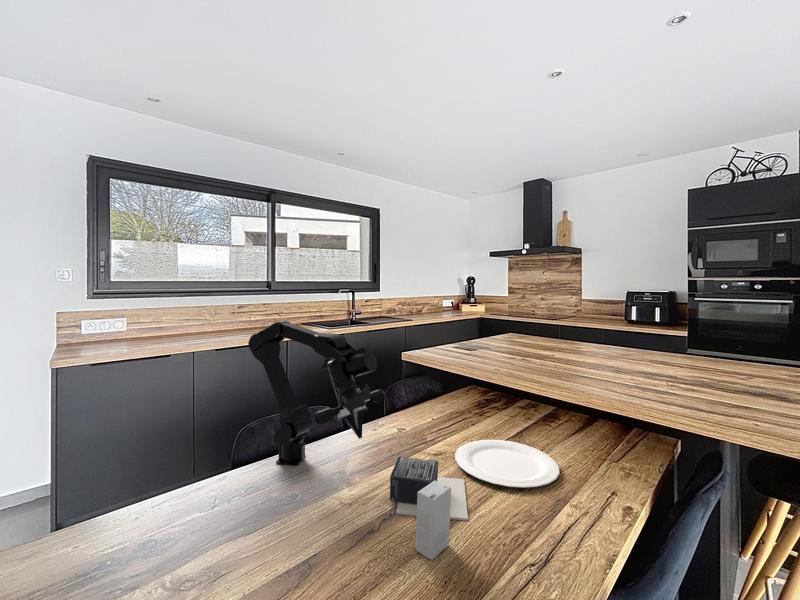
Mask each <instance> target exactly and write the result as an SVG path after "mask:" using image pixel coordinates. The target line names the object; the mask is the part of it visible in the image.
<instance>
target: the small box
mask: <svg viewBox="0 0 800 600" xmlns="http://www.w3.org/2000/svg"><path fill="white" fill-rule="evenodd" d="M438 472H439V461H438V460H427V459H419V458H413V457H412V458H410V457H404V456H398V457H397V460H396V462H395V464H394V467H393V468H392V471H391V474H390V476H389V478H390V480H389V481H390V482H389V501H390V502H391V501H392V502H397V503H398V502H404V503H412V504H417V493H418V491H420V490H421V489H423V488H424V487H426V486H427V485H429V484H430V483H432V482H433V481H437V478H438V477H439V476H438V475H439V473H438Z"/></svg>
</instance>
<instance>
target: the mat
mask: <svg viewBox="0 0 800 600" xmlns="http://www.w3.org/2000/svg"><path fill="white" fill-rule="evenodd" d="M437 482H440V483H442V484H445V485H447V486H449V487H451V506H450V520H456V521H457V520H459V521H467V522H468V521H469V516H468V515H469V514H468V506H467V505H468V504H467V495H466V488H465V479H464V478H453V477H444V476H443V477H442V476H438V478H437ZM395 511H396V512H395V514H396V515H403V516H405V515H406V516H415V517H417V504H412V503H404V502H397V506H396V510H395Z"/></svg>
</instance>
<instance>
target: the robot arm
mask: <svg viewBox="0 0 800 600" xmlns="http://www.w3.org/2000/svg"><path fill="white" fill-rule="evenodd" d="M285 339H287V340H290V341H293V342H295V343H299V344H302V345H304V346H308V347H310V348H311V349H312V350H313V352H314V353H315V354H318V355H319V357H322V358H324V361H323V363H322V365H321V367H320V369H321V370H323V369H324V370H325V369H328V372H329V376H330V379H331V384H332V386H333V390H334V392H335V396H336V399H337V403H338V406H337V407H333V408H330V407H326V408H324V409H321V410H318V411H316V412H315V414H314V418H315V422H316V424H318V425H323V424H325V423H328V422H330V421H332V420H333V418H334V417H335V416H337V418H338V419H339V420H344V421H345V423H346V424H347V425H348V426H349V427H350V429H351V430H352V431H353V433H354V434H355V435H356V437H357V438H358V439H362V438H363V420H364V415H365V412H366V411H368V409H369V408H368V407H367V406H366V405H367V404H369V403H372V402H374V403H376V404H379V403H381V402H383V401H386V400H387V399H388V398H387V395H386V392H385V391H384V390H383V389H375V390H373V391H371V390H370V387H369V385H368V384H363V385H360V386H359V387H358V384H357V383H356V380H355V378H357V377H359V376H363V375H366V374H369V373H372V372H373V373H374V372H375V371H376V370H377V368H378V360H377V357H376V356H375V355H374V352H373V351H372V350H370V349H369V346H367V345H366V346H362V347H360V348H358V349H356V348H354V347H353V346H352V345H351V344H350V343H349V342H348V341H347V339H346V337H345V336H344V335H343V334H338V333H330V332H329V333H327V332H317V331H315V330H312V329H309V328H306V327H303V326H300V325H297V324H294V323H291V322H290V321H288V320H281V321H275V322H274V323H272V324H271V325H270V326H268V327H266V328H264V329H262V330H260V331H258V333H253V334H251V336H250V337H249V341H248V343H247V345H248V348H249V351H251V354H252V355H253V357H254V358H255V359H256V360H258V362H260V363H261V364H262V365H263V368H264V370H265V373H266V375H267V378H268V381H269V383H270V386H271V389H272V391H273V393H274V396H275V399H276V401H277V403H278V406H279V409H280V412H279V418H278V419H279V420H278V422H279V426H280V428H279V429H278V430H277V431H276V432H275V433H274V434H273V441H274V443H276V444H278V459H277V460H276V462H275V463H276V464H277V465H287V466H298V465H299V464H300V463H301V461H302V460H303V459H304V458H305V457H306V443H305V442H304V437H306V436H308V433H309V431H310V430H311V427H312V425H313V421H312V418H313V415H312V414H311V413H310V410H309V407H308V406H307V404H304V405H301V404H300V402H298V400H297V397H296V395H295V393H294V391H293V389H292V386H291V383H290V381H289V378H288V375H287V373H286V371H285V369H284V366H283V364H282V360H281V358H280V355H281V348H282V347H281V344H280V343H281V342H282V341H284V340H285ZM343 358H344V359H343ZM354 377H355V378H354ZM351 412H352V413H351Z"/></svg>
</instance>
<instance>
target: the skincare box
mask: <svg viewBox="0 0 800 600" xmlns="http://www.w3.org/2000/svg"><path fill="white" fill-rule="evenodd" d="M450 506H451V487H449V486H447V485H445V484H442V483H440V482H437V481H433V482H432V483H430V484H429V485H427V486H426V487H424V488H423V489H421V490H420V491H418V493H417V516H416V522H415V526H416V527H415V546H414V547H415V548H414V549H415V551H416V552H418V553H420V554H421V555H422V556H424V557H425V558H427V559H429V560H431V561H432V560H434V559H435V558H436V557H437V556H438V555H439V554H440V553H441V552H442V551H443V550H444V549H445V548H447V547H448V545H449V544H450V527H451V519H450Z"/></svg>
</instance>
